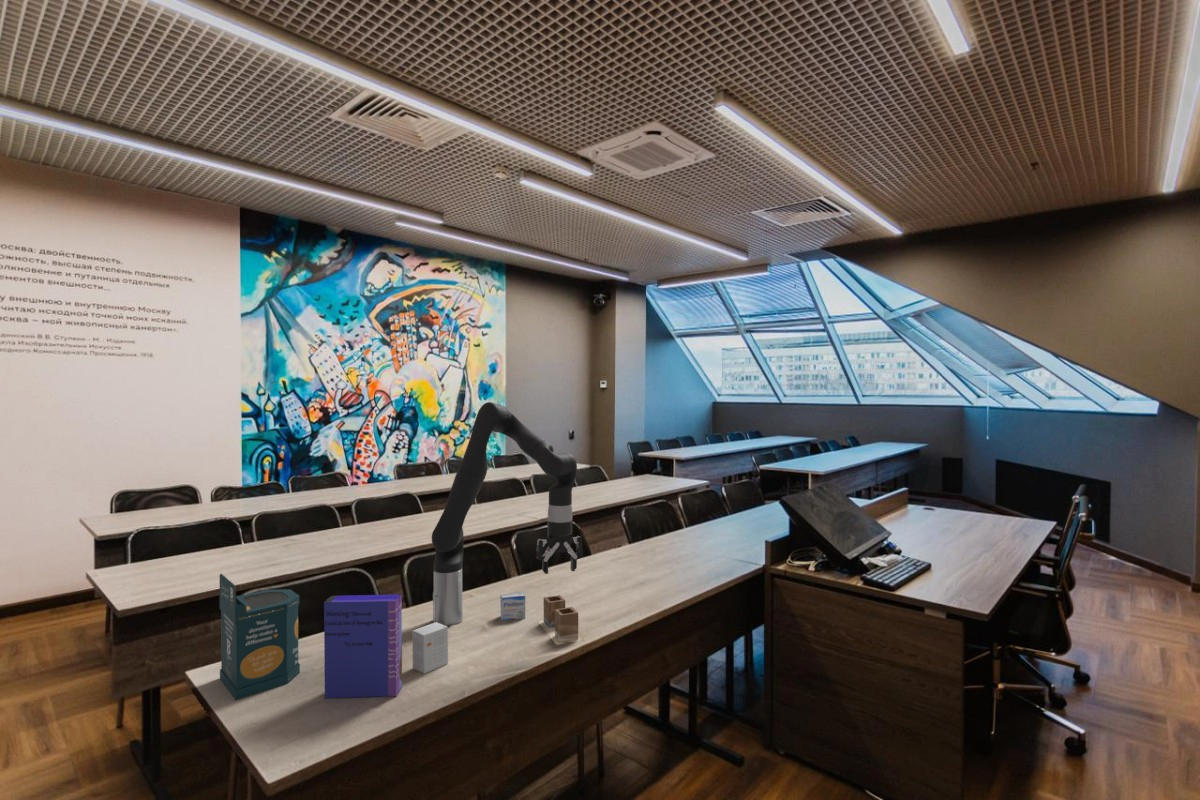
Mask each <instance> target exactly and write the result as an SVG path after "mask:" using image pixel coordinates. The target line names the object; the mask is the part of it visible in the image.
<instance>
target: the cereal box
mask: <svg viewBox="0 0 1200 800" xmlns="http://www.w3.org/2000/svg"><path fill="white" fill-rule="evenodd" d="M402 606H403V605H402V594H356V595H355V594H354V595H351V594H348V595H347V594H346V595H331V596H329V597H327V599H326V600H325V601H324V602H323V610H324V611H323V615H324V616H323V622H324V623H323V626H324V627H323V628H324V629H323V631H324V633H323V634H324V637H323V638H324V640H323V641H324V646H323V647H324V651H323V652H324V699H325V700H326V699H329V700H330V699H331V700H332V699H333V700H334V699H365V698H368V699H370V698H373V699H376V698H397V697H398V695H399V693H400V692H401V690H402V688H403V654H402V653H403V641H402V639H403V636H402V633H403V632H402V629H403V628H402V625H403V624H402V623H403V622H402V619H403V618H402V617H403V614H402V610H403V609H402Z"/></svg>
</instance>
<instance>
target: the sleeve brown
mask: <svg viewBox="0 0 1200 800" xmlns="http://www.w3.org/2000/svg"><path fill="white" fill-rule="evenodd" d="M578 633H579V611H577V610H576V609H575V608H574V607H573V606H568V607H565V608H561V609H555V636H556V637H557V639H558V640H559V641H560V642H566V641H572V640H578Z"/></svg>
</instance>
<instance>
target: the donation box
mask: <svg viewBox="0 0 1200 800" xmlns="http://www.w3.org/2000/svg"><path fill="white" fill-rule="evenodd" d="M299 605H300V595H299V594H298V593H296V592H295V591H293V589H264V590H261V591H256V592H251V593H245V594H241V595H237V587H236V585H235V584H234V583H233V582H232V581H231V580H230V579H228V578H227V577H226V576H225V575H224V574H223V573H220V574H219V610H220V620H221V621H220V626H221V629H220V631H221V633H220V635H221V637H220V638H221V640H220V641H221V643H220V645H221V646H220V647H221V649H220V650H221V652H220V653H221V655H220V656H221V658H220V660H221V664H220V665H221V668H220V669H219V679H220V681H221V682H222V684H223V685H224V687H225V688H226V689H227V690H228V692H229V693H230V695H231V697H232V698H233V699H234V700H235V701H238V700H241V699H243V698H247V697H250V696H253V695H256V694H259V693H263V692H265V691H268V690H272V689H275V688H279V687H282V686H284V685H288V684H289V683H291V681H292V680H294V679H295V677H297V676H298V675H299V674H300V673H301V672H300V671H301V669H300V668H301V667H300V666H301V665H300V663H299Z"/></svg>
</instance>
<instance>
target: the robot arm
mask: <svg viewBox="0 0 1200 800" xmlns="http://www.w3.org/2000/svg"><path fill="white" fill-rule="evenodd" d="M492 433H500V434H501V435H504V436H506V437H509V438H510V439H512V440H513V441H514V442H515V443H516V444H517V446H518V447H519V448H520V449H521V451H522V452H523V453H524V454H526V455H527V456H528V457H530V458H531V459H532V460H533V461H536V463H537V465H538V466H539V467H540V469H541V470H542V471H543V472H544V474H546V476H548V477H551V478H555V479H556V482H555V483H553V484H552V485H550V487H548V488H549V489H548V506H547V509H548V510H547V538H546V539H541V538H537V540H536V550H535V551H536V552H535V558H536V559H537V560H538V561H541V570H542V572H543V573H544V574H545V575H548V574H549V559H550V558H551V557H552V556H553V554H554V553H555V554H559V553H563V554H565V553H566V552H567V553H568V554H569V555H570V556H571V557H570V571H571V572H575V571H576V569H577V568H578V566H577V565H578V558H579V557H583V555H584V553H583V550H584V549H583V537H582V536H579V535H576V536H574V537H573V506H572V504H573V503H572V499H573V498H572V491H573V487H574V485H575V481H576V475H577V471H578V465H577V463H578V462H577V460H576V458H575V456H574V455H573V454H571V453H568V452H564V453H555V452H554V447H553V445H552V444H551V443H550V442H549V441H547V440H546V439H544V438H543V437H541V436H540V435H539V434H537V433H536V432H534V431H533V430H531V429H530V428H529V427H527V425H525V424H524V423H523V422H522V421H521V420H520V419H519V418H518V417H517V416H516V415H515V414H514V413H513V412H512V411H511V410H510V409H509V408H508V407H507V406H505V405H501V404H497V403H495V402H490V401H487V402H485V403H484V404H482V406H481V407H480V408H479V410H478V411H477V414H476V417H475V420H474V424H473V427H472V430H471V434H470V438H469V441H468V443H467V446H466V449H465V451H464V454H463V456H462V460H461V462H460V464H459V466H458V469H457V471H456V474H455V477H454V480H453V483H452V484H451V488H450V490H449V491H450V492H449V494H448V498H447V501H446V504H445V508H444V509H443V512H442V513H441V515H440V518H439V520H438V522H437V524H436V525H435V527H434V529H433V531H432V532H431V542H432V546H433V548H434V549H435V555H434V561H433V592H432V619H433V623H435V622H437V623H440V624H442V625H445V626H447V627H448V626H454V625H457V624H460V623H461V622H462V621H463V561H464V542H465V541H464V539H465V538H464V528H463V526H464V523H465V519H466V517H467V514H468V512H469V510H470V509H471V507H472V505H474V502H475V500H476V498H477V497H478V496H479V495H478V494H480V493H479V492H480V490H481V489H482V487H483V484H484V481H485V479H486V476H487V472H488V455H487V448H488V444H489V441H490V437H491V435H492ZM573 543H574V544H575V545H576V546H575V547H576V551H574V550H573V548H572V547H571V546H572V544H573ZM545 545H547V547H546V550H545V551H544V553H543V548H544V547H545Z"/></svg>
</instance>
